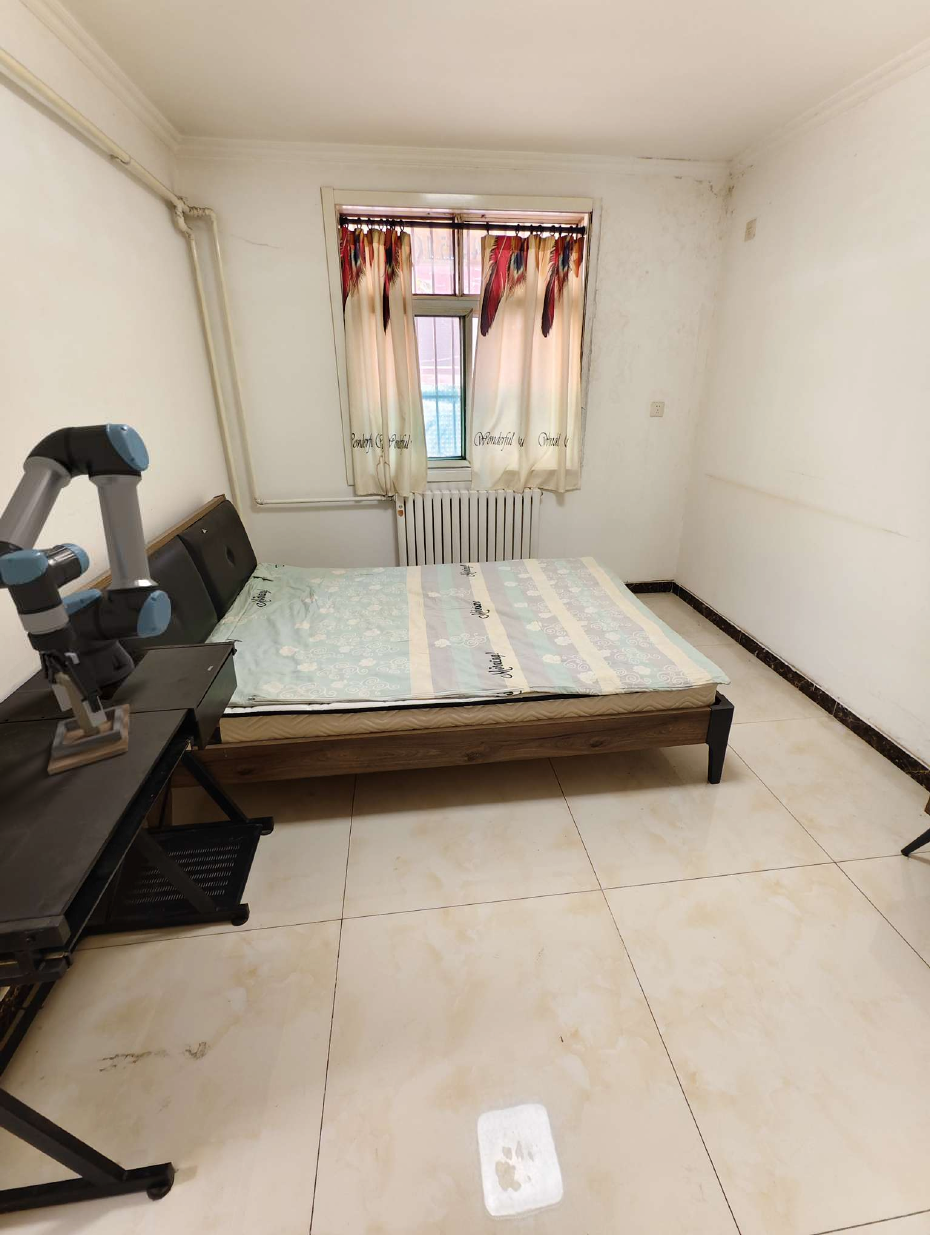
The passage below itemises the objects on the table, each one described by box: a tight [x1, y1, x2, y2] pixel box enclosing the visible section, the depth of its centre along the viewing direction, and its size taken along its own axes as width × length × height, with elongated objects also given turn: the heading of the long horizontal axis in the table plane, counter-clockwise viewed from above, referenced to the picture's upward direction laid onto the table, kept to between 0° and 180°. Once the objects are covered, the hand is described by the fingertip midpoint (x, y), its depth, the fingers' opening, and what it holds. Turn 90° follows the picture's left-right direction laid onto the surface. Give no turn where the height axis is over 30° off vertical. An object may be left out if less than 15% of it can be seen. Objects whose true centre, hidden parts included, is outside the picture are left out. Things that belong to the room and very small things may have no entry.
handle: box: [55, 672, 100, 736], centre depth 121 cm, size 5×6×15 cm
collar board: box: [47, 703, 131, 776], centre depth 123 cm, size 20×14×3 cm
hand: (84, 715), depth 121 cm, fingers open, 13 cm apart
